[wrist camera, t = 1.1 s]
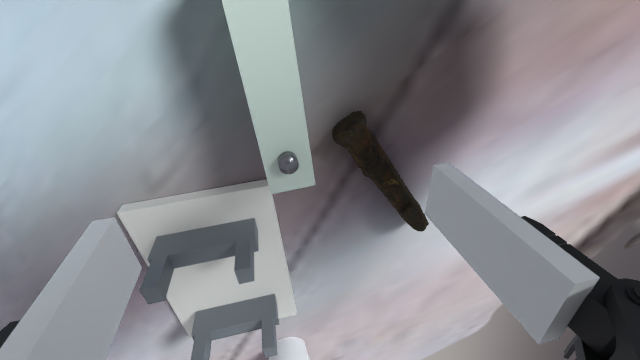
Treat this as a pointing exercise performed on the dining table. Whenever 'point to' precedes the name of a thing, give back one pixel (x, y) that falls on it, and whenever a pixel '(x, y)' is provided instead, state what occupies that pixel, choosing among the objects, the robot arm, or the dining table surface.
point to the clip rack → (215, 261)
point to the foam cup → (290, 349)
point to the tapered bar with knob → (272, 89)
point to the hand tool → (378, 167)
